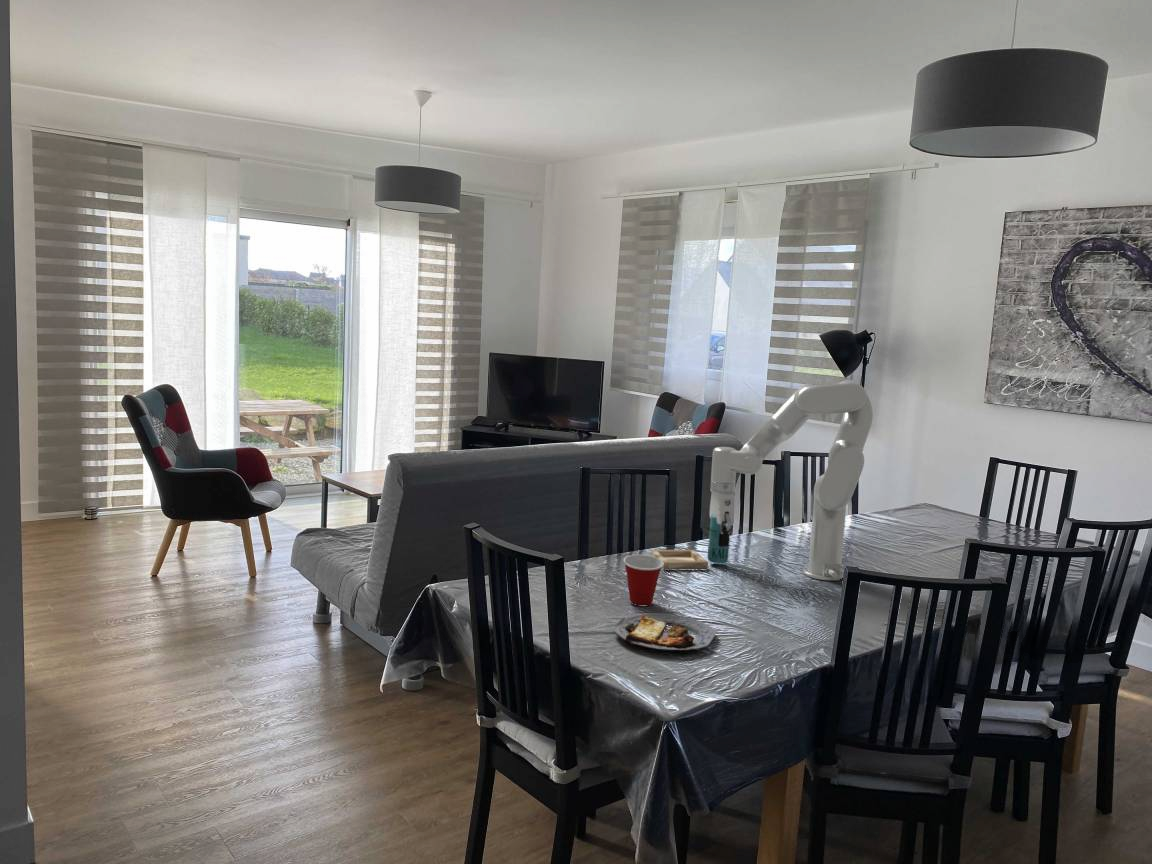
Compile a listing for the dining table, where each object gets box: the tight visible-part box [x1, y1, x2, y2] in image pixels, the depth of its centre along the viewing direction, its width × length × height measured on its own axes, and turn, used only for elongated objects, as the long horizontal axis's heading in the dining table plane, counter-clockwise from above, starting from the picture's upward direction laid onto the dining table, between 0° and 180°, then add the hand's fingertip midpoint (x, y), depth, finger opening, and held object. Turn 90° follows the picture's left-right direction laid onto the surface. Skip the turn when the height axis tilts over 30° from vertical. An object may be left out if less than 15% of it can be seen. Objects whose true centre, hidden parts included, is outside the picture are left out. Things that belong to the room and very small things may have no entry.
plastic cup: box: [623, 554, 664, 606], centre depth 238 cm, size 11×11×12 cm
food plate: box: [613, 612, 718, 652], centre depth 214 cm, size 25×23×4 cm
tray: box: [650, 549, 709, 570], centre depth 278 cm, size 14×14×2 cm
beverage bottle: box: [707, 514, 731, 564], centre depth 277 cm, size 6×7×20 cm
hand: (718, 542), depth 278 cm, fingers open, 7 cm apart
